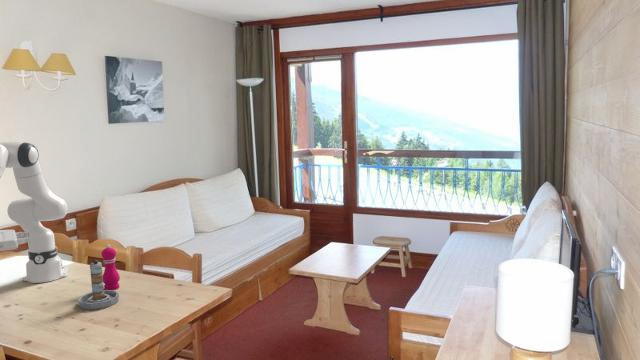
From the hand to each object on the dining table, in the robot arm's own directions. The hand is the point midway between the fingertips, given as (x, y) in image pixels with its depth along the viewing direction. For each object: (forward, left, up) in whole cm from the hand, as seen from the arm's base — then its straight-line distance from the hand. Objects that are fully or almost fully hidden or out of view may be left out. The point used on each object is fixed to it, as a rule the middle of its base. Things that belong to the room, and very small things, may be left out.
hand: (30, 236), depth 198 cm
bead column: (-2, +22, -29) cm, 37 cm away
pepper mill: (-20, +24, -31) cm, 44 cm away
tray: (-2, +22, -30) cm, 38 cm away
